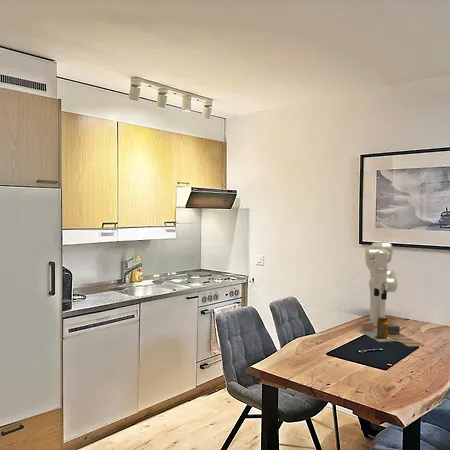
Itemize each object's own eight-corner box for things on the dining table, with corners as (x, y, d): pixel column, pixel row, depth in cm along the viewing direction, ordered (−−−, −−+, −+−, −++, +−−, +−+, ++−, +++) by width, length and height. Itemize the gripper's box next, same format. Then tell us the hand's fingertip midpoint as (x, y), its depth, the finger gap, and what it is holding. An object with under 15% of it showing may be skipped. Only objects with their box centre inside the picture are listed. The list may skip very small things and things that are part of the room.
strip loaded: (358, 331, 278) (358, 322, 278) (373, 330, 280) (373, 321, 280) (379, 342, 255) (379, 332, 254) (394, 341, 257) (395, 331, 256)
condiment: (390, 337, 262) (390, 317, 261) (383, 340, 256) (384, 320, 256) (379, 335, 267) (379, 315, 267) (372, 338, 261) (372, 318, 261)
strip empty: (384, 334, 270) (385, 325, 270) (399, 334, 272) (399, 325, 271) (408, 347, 246) (408, 337, 246) (424, 345, 248) (424, 336, 248)
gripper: (368, 268, 284) (368, 294, 285) (381, 273, 266) (380, 301, 267) (379, 268, 284) (379, 294, 285) (393, 272, 267) (392, 300, 268)
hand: (380, 297), depth 276 cm, fingers open, 9 cm apart
